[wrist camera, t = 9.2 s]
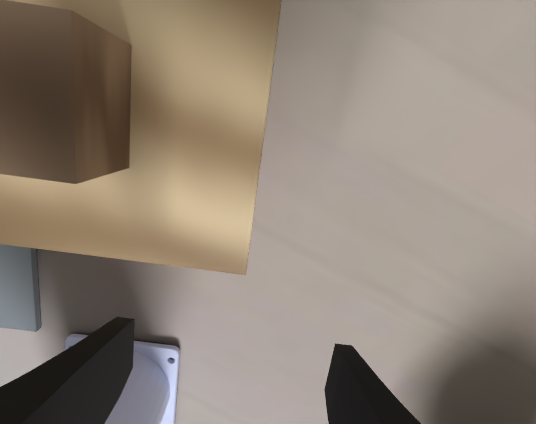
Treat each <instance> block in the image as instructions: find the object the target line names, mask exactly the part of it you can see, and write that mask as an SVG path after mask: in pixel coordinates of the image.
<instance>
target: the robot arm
mask: <svg viewBox="0 0 536 424" xmlns="http://www.w3.org/2000/svg"><path fill="white" fill-rule="evenodd" d="M170 358H174V359H175V360H172V359H170ZM179 359H180V350H179V348H178V347H176V346H173V345H165V344H156V343H148V342H140V341H134V319H129V318H121V317H116V318H115V319H113V320H112V321H110V322H108V323H107V324H105V325H104V326H102V327H101V328H99V329H98V330H96V331H95V332H93V333H92V334H90V335H81V334H70V335H69V336H68V337H67V338H66V339H65V351H64V352H62V353H60V354H59V355H57V356H55V357H54V358H52V359H50V360H48V361H47V362H45V363H43V364H42V365H40V366H38V367H37V368H35V369H33V370H31V371H30V372H28V373H26V374H24V375H22V376H21V377H19V378H17V379H15V380H13V381H11V382H9V383H7V384H5V385H3V386H1V387H0V424H175V412H176V399H177V385H178V372H179ZM325 397H326V407H327V414H328V421H329V424H421V423H420V422H419V421H418V420H417V419H416V418H415V417H414V416H413V415H412V414H411V413H410V412H409V411H408V410H407V409H406V408H405V407H404V406H403V405H402V404H401V402H400V401H399V400H398V399H397V398H396V397H395V396H394V395H393V394H392V393H391V391H390V390H389V389H388V388H387V387H386V386H385V385H384V383H383V382H382V381H381V380H380V379H379V378H378V376H377V375H376V374H375V373H374V372H373V370H372V369H371V368H370V367H369V366H368V364H367V363H366V362H365V361H364V359H363V358H362V357H361V356H360V355H359V353H358V352H357V351H356V350H355V349H354V347H353V346H351V345H342V344H335V347H334V351H333V356H332V360H331V364H330V369H329V373H328V377H327V382H326V386H325Z"/></svg>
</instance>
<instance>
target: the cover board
mask: <svg viewBox="0 0 536 424" xmlns="http://www.w3.org/2000/svg"><path fill="white" fill-rule="evenodd" d="M280 8H281V0H0V244H4V245H12V246H20V247H28V248H36V249H44V250H52V251H59V252H67V253H75V254H83V255H91V256H99V257H107V258H115V259H123V260H131V261H139V262H146V263H154V264H162V265H170V266H178V267H186V268H194V269H202V270H210V271H218V272H226V273H233V274H241V275H246V269H247V262H248V254H249V246H250V239H251V231H252V223H253V215H254V208H255V200H256V192H257V185H258V177H259V169H260V162H261V154H262V146H263V139H264V131H265V123H266V115H267V108H268V100H269V92H270V85H271V77H272V69H273V62H274V54H275V46H276V38H277V31H278V23H279V15H280Z"/></svg>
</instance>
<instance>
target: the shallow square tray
mask: <svg viewBox="0 0 536 424" xmlns="http://www.w3.org/2000/svg"><path fill="white" fill-rule="evenodd" d="M0 327H1V328H10V329H18V330H26V331H35V332H36V331H38V330H39V329H40V328H41V316H40V300H39V284H38V269H37V253H36V248H28V247H20V246H12V245H4V244H0Z"/></svg>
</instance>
